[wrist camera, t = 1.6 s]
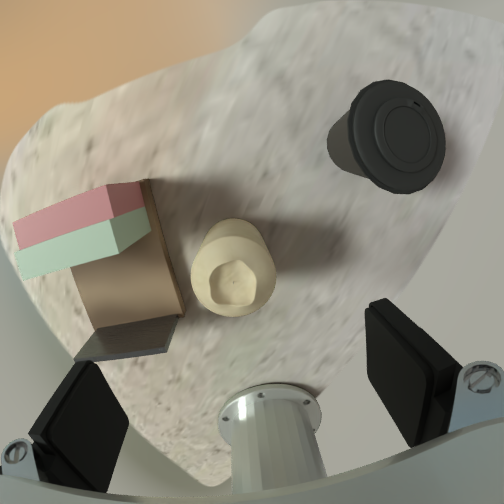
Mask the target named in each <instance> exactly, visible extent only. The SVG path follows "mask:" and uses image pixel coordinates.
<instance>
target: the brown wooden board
mask: <svg viewBox="0 0 504 504" xmlns="http://www.w3.org/2000/svg"><path fill="white" fill-rule="evenodd" d="M136 182H139V184H140V188H141V192H142V196H143V200H144V204H145V208H146V212H147V216H148V220H149V223H150V227H151V231H150V232H149V233H147V234H146V235H145V236H143V237H142V238H140V239H139V240H137V241H136V242H135V243H133V244H132V245H130V246H129V247H128V248H126V249H125V250H123V251H122V252H121V253H119V254H116V255H112V256H108V257H105V258H101V259H97V260H94V261H90V262H86V263H83V264H79V265H76V266H72V267H70V268H71V271H72V274H73V277H74V280H75V282H76V285H77V288H78V291H79V293H80V296H81V299H82V301H83V304H84V306H85V309H86V311H87V314H88V316H89V318H90V321H91V323H92V326H93V328H94V330H95V331H96V330H97V328H101V327H107V326H113V325H118V324H124V323H130V322H135V321H141V320H146V319H151V318H157V317H162V316H167V315H172V314H178V317H179V318H182V317H184V315H185V312H186V309H185V306H184V303H183V299H182V296H181V293H180V290H179V287H178V284H177V281H176V277H175V274H174V271H173V268H172V264H171V261H170V257H169V254H168V251H167V247H166V244H165V240H164V236H163V233H162V229H161V226H160V222H159V218H158V214H157V210H156V207H155V203H154V199H153V195H152V191H151V187H150V182H149V179H142V180H139V181H136Z"/></svg>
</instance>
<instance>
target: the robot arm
mask: <svg viewBox="0 0 504 504" xmlns="http://www.w3.org/2000/svg"><path fill="white" fill-rule="evenodd" d="M365 327H366V350H367V374H368V378H369V380H370V382H371V384H372V386H373V387H374V389H375V391H376V392H377V394H378V395H379V397H380V399H381V400H382V402H383V404H384V405H385V407H386V409H387V410H388V412H389V414H390V415H391V417H392V419H393V420H394V422H395V423H396V425H397V427H398V429H399V431H400V432H401V434H402V436H403V437H404V439H405V441H406V442H407V444H408V446H409V447H410V448H411V449H409V450H406V451H404V452H401V453H399V454H396V455H394V456H391V457H389V458H386V459H383V460H380V461H377V462H375V463H372V464H369V465H366V466H363V467H360V468H357V469H353V470H350V471H347V472H344V473H340V474H337V475H334V476H330V477H327V474H326V471H325V467H324V464H323V461H322V458H321V454H320V451H319V448H318V444H317V441H316V438H315V435H314V434H315V433H316V431H317V429H318V428H319V426H320V423H321V410H320V407H319V404H318V402H317V400H316V399H315V398H314V397H313V396H312V395H311V394H310V393H308V392H307V391H306V390H303V389H301V388H299V387H296V386H292V385H286V384H266V385H260V386H255V387H252V388H249V389H246V390H244V391H242V392H240V393H238V394H236V395H235V396H233V397H232V398H230V399H229V400H228V401H227V402H226V403H225V404H224V406H223V407H222V409H221V411H220V413H219V417H218V429H219V433H220V435H221V437H222V438H223V439H224V440H225V442H226V443H228V444H229V445H230V446H231V468H232V495H222V496H207V497H174V498H173V497H142V496H128V495H116V494H108V493H106V492H107V491H108V487H109V484H110V481H111V478H112V474H113V471H114V468H115V465H116V462H117V459H118V456H119V453H120V450H121V446H122V444H123V441H124V438H125V435H126V432H127V429H128V426H129V420H128V417H127V415H126V413H125V412H124V410H123V409H122V407H121V405H120V404H119V402H118V400H117V399H116V397H115V395H114V394H113V392H112V390H111V388H110V387H109V385H108V383H107V381H106V379H105V378H104V376H103V374H102V372H101V370H100V368H99V366H98V365H97V364H95V363H94V362H93V361H91V360H85V361H77V362H76V363H75V364H74V365H73V367H72V368H71V370H70V371H69V373H68V374H67V375H66V377H65V378H64V380H63V381H62V383H61V384H60V385H59V387H58V388H57V390H56V391H55V393H54V394H53V396H52V397H51V399H50V400H49V402H48V403H47V405H46V406H45V408H44V409H43V411H42V412H41V414H40V415H39V417H38V418H37V420H36V421H35V423H34V425H33V426H32V428H31V429H30V431H29V433H28V434H29V436H30V437H31V438H32V439H33V441H34V443H33V444H31V443H30V442H29V441H28V440H27V439H24V438H21V439H16V440H14V441H12V442H10V443H9V444H8V445H7V446H6V447H5V448H4V450H3V452H2V455H1V464H2V465H1V466H0V504H504V371H503V370H502V368H501V367H499V366H498V365H497V364H495V363H492V362H489V361H476V362H473V363H470V364H468V365H466V366H465V367H462V366H461V365H460V364H459V363H458V362H457V361H456V360H455V359H454V358H453V357H452V356H451V355H450V354H449V353H448V352H446V351H445V350H444V349H443V348H442V347H441V346H440V345H439V344H438V343H437V342H436V341H435V340H434V339H433V338H432V337H430V336H429V335H428V334H427V333H426V332H425V331H424V330H423V329H422V328H420V327H418V326H417V325H416V324H415V323H414V322H413V321H412V320H410V318H408V317H407V316H406V315H405V314H404V313H403V312H402V311H401V310H399V309H398V308H397V307H396V306H395V305H394V304H393V303H392V302H391V301H389V300H388V299H387V298H383V299H380V300H377V301H374V302H371V303H370V304H369V308H366V309H365Z"/></svg>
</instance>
